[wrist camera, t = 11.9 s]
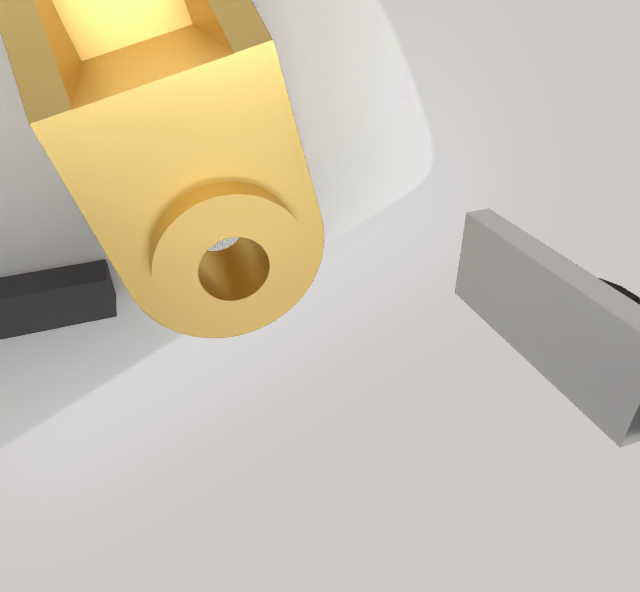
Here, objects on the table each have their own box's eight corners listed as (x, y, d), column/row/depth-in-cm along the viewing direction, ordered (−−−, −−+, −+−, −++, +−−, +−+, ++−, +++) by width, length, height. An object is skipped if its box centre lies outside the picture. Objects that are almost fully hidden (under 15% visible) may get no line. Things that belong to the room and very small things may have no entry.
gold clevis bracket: (270, 193, 38) (353, 309, 26) (150, 240, 37) (175, 386, 24) (154, -157, 26) (203, -264, 14) (-29, -105, 25) (-162, -171, 12)
